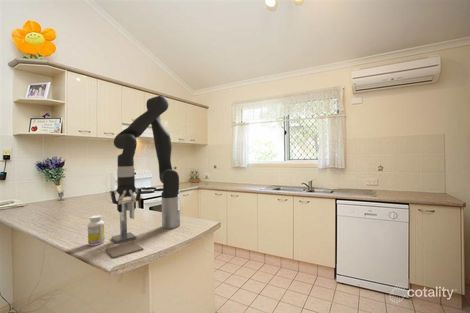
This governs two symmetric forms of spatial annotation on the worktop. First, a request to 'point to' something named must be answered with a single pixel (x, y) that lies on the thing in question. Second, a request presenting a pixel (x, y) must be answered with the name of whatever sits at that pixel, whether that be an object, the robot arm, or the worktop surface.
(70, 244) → the worktop surface
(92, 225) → the supplement bottle
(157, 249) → the worktop surface
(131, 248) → the cork mat
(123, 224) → the stand
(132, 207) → the hook
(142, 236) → the worktop surface
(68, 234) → the worktop surface
